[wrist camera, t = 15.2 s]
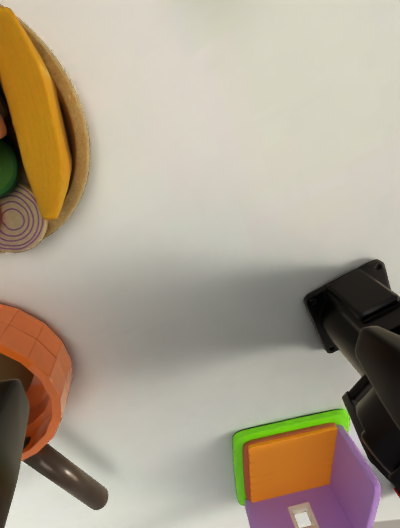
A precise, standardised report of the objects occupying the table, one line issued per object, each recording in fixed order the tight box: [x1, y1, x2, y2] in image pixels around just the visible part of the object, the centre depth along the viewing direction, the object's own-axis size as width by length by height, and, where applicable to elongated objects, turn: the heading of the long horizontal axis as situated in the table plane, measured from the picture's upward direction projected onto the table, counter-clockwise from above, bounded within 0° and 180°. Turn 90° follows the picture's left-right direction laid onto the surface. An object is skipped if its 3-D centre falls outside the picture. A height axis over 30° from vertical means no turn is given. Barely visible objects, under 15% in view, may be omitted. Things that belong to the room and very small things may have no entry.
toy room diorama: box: [233, 409, 381, 528], centre depth 30 cm, size 12×12×7 cm
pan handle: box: [23, 436, 108, 510], centre depth 24 cm, size 10×2×2 cm, turn 28°
